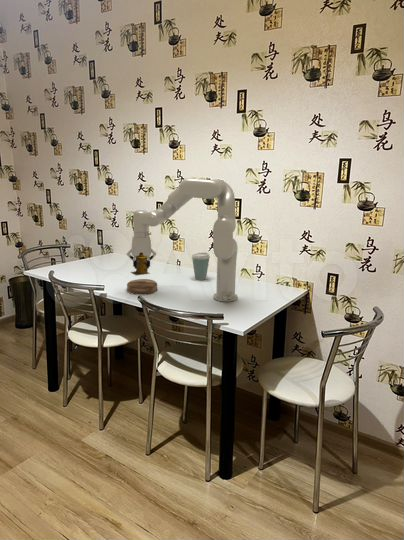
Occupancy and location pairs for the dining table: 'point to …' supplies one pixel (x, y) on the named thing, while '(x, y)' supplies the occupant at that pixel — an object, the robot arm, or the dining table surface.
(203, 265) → the disposable coffee cup
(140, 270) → the condiment
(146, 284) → the walnut stand
